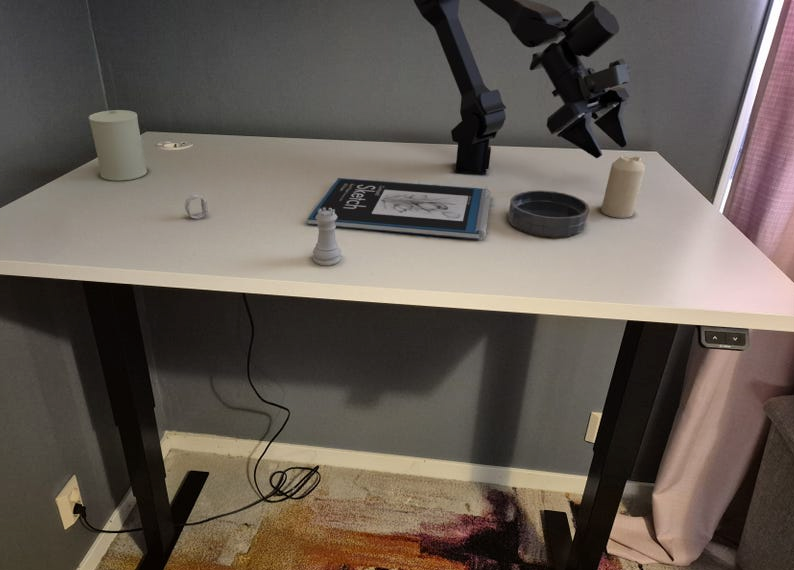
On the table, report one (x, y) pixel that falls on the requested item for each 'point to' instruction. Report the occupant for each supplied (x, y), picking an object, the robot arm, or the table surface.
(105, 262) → the table surface
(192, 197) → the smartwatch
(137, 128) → the can
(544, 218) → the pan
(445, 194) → the sketchbook
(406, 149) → the table surface
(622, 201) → the candle
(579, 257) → the table surface
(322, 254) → the rook chess piece
